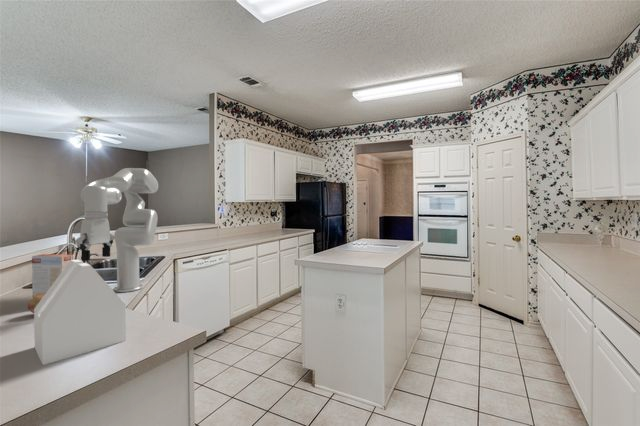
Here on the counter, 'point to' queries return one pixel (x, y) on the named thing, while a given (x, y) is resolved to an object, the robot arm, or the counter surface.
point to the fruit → (35, 302)
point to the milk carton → (77, 315)
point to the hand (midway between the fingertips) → (96, 258)
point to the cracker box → (47, 271)
